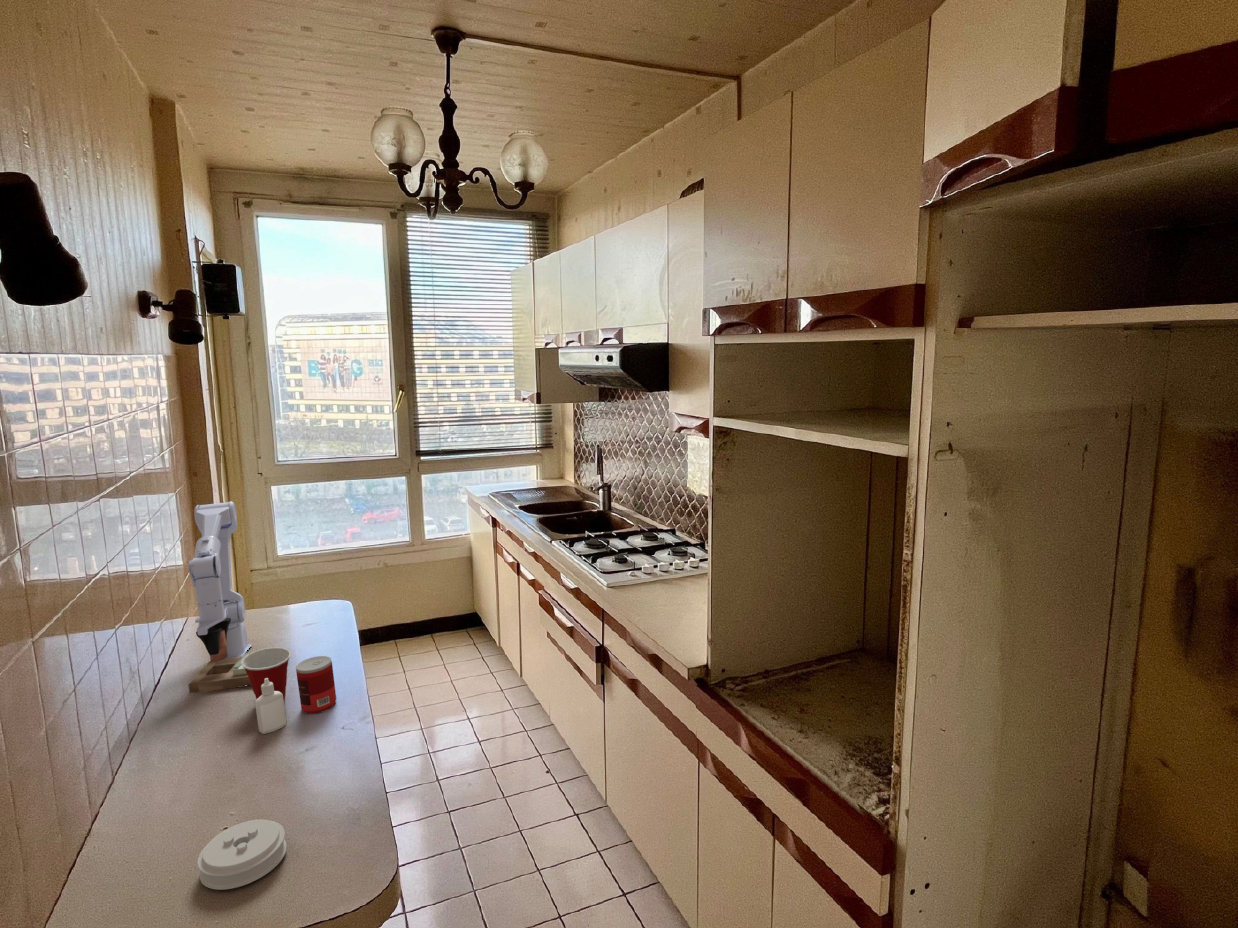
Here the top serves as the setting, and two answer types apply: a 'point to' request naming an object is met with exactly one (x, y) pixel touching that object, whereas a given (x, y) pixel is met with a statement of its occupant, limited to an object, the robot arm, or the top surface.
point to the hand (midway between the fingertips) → (217, 650)
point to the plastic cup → (267, 668)
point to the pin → (221, 648)
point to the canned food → (316, 684)
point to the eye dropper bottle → (270, 709)
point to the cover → (239, 667)
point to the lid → (242, 854)
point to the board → (218, 676)
